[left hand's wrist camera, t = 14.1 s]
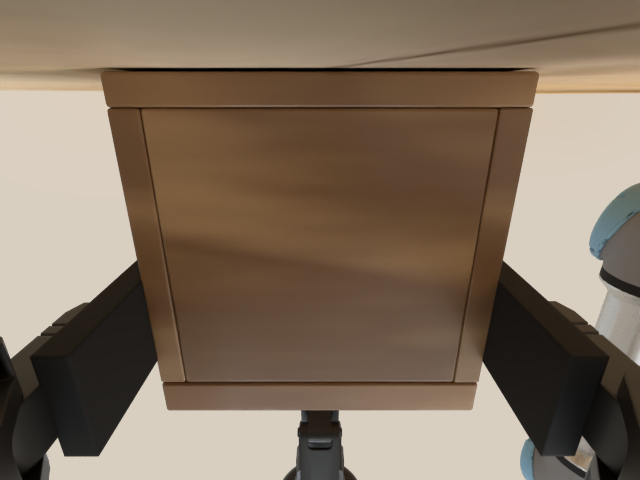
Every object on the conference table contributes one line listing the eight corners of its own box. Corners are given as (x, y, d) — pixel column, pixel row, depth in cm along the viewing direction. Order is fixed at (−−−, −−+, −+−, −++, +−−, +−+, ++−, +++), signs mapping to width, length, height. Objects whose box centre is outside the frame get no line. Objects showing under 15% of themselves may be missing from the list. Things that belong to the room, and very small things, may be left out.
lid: (391, 225, 25) (383, 330, 28) (247, 225, 25) (255, 330, 28) (478, 383, 11) (444, 553, 14) (161, 384, 11) (195, 553, 14)
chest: (404, 86, 21) (393, 228, 24) (235, 86, 21) (246, 228, 24) (541, 71, 8) (478, 382, 11) (97, 71, 8) (160, 383, 11)
